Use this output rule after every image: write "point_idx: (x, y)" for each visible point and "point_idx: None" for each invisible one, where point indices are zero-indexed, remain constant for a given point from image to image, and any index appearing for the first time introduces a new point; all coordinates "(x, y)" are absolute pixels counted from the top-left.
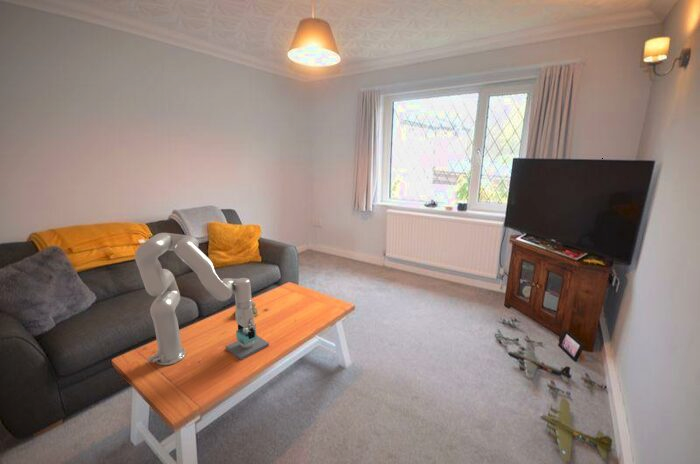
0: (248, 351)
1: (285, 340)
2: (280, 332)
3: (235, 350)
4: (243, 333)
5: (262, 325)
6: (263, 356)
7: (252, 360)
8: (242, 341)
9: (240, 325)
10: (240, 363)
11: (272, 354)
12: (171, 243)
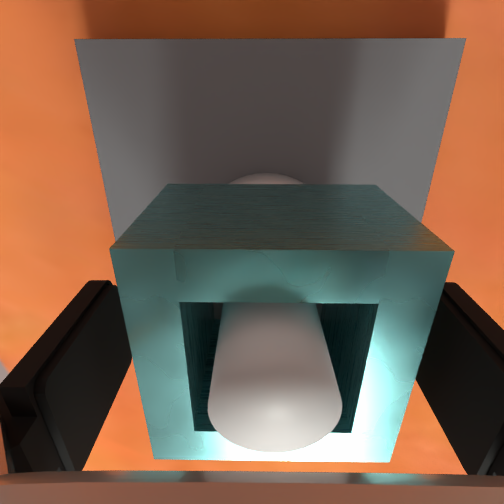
0: (134, 182)
1: (131, 436)
2: (246, 462)
3: (264, 82)
4: (205, 296)
5: (434, 444)
6: (24, 246)
7: (15, 142)
8: (203, 195)
9: (487, 408)
10: (31, 8)
11: (11, 305)
12: None
